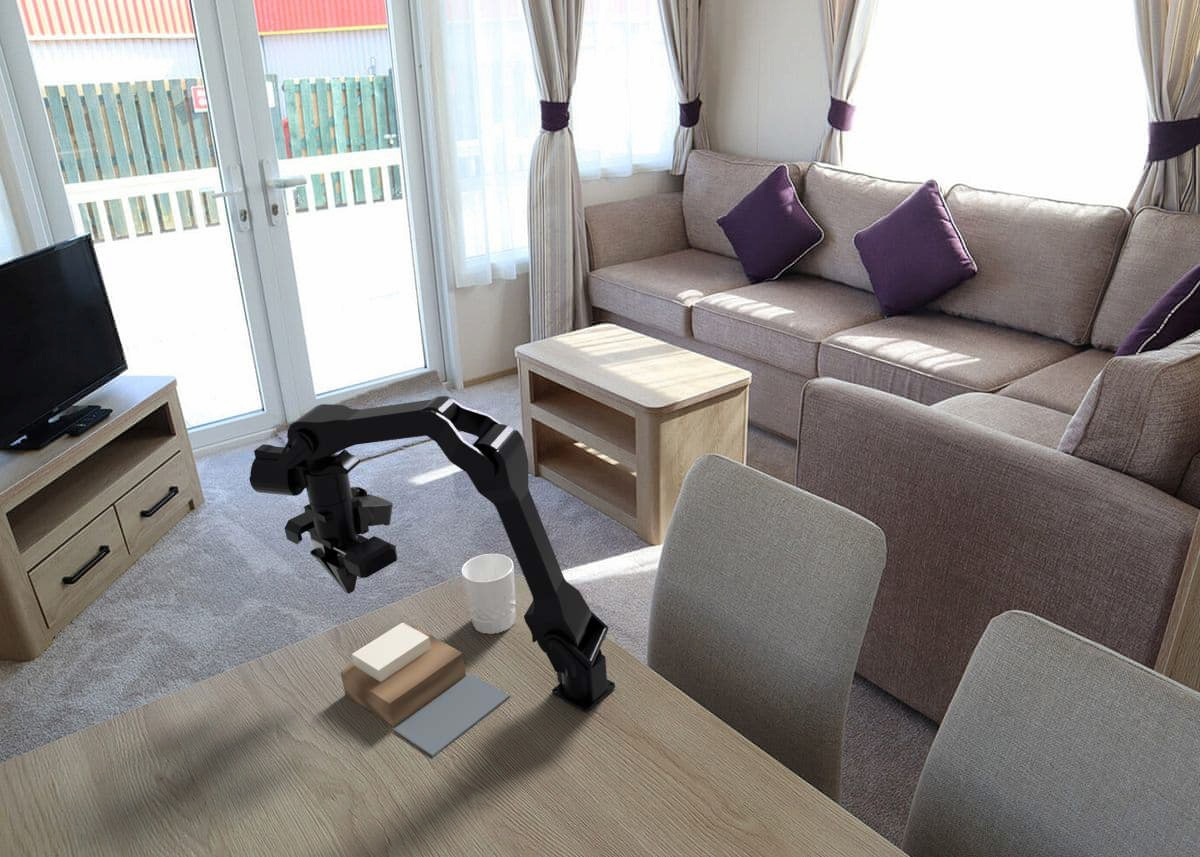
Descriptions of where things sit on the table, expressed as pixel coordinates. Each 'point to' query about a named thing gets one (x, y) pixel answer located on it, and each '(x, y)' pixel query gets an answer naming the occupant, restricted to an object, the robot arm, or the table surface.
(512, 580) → the white cup
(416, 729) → the mat
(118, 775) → the table surface
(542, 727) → the table surface
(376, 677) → the white sticky note pad
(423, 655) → the tan beveled block
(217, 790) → the table surface
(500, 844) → the table surface
